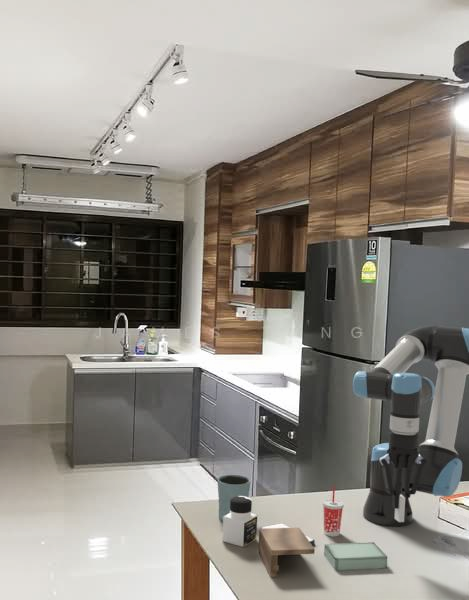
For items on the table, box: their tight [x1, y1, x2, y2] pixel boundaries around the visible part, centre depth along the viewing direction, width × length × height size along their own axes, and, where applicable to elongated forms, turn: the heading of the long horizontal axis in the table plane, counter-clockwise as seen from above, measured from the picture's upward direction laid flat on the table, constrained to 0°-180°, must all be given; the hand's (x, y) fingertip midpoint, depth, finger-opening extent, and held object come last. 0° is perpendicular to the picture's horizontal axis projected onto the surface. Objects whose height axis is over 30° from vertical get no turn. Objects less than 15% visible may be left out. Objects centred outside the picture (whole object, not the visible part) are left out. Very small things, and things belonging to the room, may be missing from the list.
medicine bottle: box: [221, 496, 258, 548], centre depth 183 cm, size 7×7×12 cm
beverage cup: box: [322, 485, 345, 537], centre depth 191 cm, size 6×6×14 cm
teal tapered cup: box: [217, 474, 251, 522], centre depth 200 cm, size 10×10×12 cm
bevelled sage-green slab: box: [323, 542, 388, 571], centre depth 173 cm, size 14×9×3 cm, turn 100°
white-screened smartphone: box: [259, 522, 315, 547], centre depth 187 cm, size 9×2×16 cm
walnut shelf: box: [258, 527, 315, 578], centre depth 169 cm, size 11×14×7 cm
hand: (399, 520), depth 174 cm, fingers closed
